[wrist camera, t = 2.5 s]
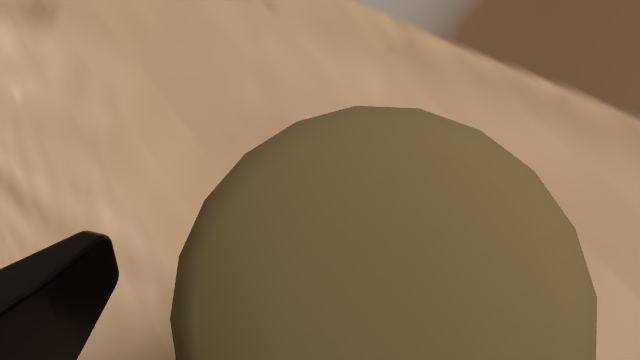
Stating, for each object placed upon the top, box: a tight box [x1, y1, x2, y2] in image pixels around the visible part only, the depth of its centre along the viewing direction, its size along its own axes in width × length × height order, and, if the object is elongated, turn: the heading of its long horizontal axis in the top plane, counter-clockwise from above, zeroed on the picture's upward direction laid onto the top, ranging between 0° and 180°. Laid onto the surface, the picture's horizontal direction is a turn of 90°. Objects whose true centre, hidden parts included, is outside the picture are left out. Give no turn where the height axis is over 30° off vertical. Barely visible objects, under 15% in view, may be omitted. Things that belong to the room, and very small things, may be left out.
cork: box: [170, 106, 597, 360], centre depth 11 cm, size 6×6×11 cm
